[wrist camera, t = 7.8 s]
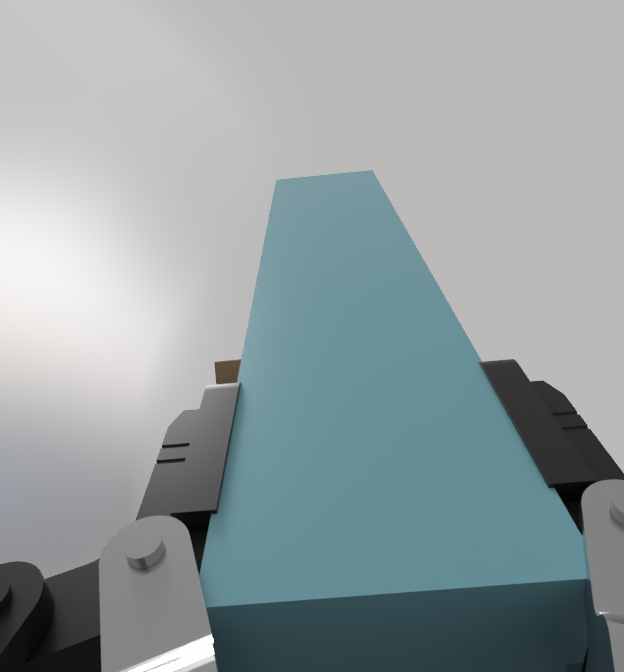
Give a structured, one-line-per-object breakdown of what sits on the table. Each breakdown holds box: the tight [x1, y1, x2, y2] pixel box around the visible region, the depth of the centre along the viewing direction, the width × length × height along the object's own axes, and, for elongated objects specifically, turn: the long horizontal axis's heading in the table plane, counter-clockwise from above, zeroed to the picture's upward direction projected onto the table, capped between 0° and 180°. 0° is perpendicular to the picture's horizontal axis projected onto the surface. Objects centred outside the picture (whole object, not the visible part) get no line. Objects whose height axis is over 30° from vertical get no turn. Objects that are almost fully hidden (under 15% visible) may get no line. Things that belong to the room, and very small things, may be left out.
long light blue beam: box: [199, 170, 588, 672], centre depth 18 cm, size 22×5×15 cm, turn 178°
